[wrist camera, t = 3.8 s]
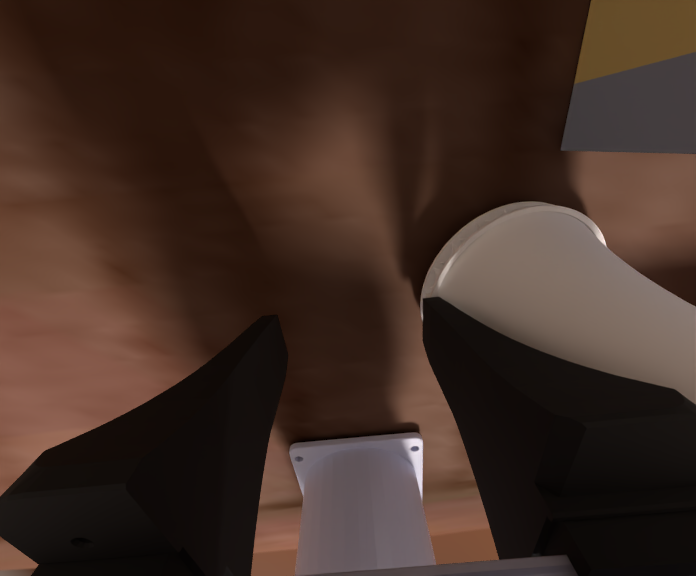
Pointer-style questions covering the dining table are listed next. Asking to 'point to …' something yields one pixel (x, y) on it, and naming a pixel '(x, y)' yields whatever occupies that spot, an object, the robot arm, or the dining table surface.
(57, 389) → the dining table surface
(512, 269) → the vase
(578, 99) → the book row
